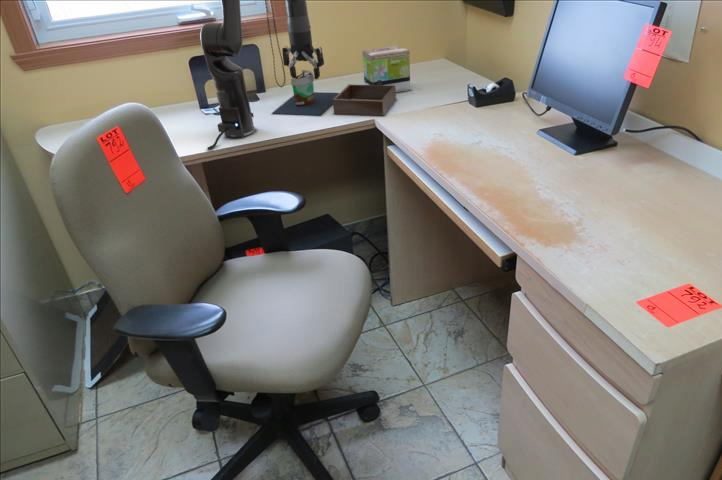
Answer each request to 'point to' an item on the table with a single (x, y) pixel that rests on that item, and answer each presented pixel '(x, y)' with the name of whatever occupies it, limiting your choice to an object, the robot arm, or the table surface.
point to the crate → (364, 107)
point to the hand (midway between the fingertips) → (305, 78)
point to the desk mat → (316, 109)
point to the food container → (303, 88)
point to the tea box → (387, 67)
